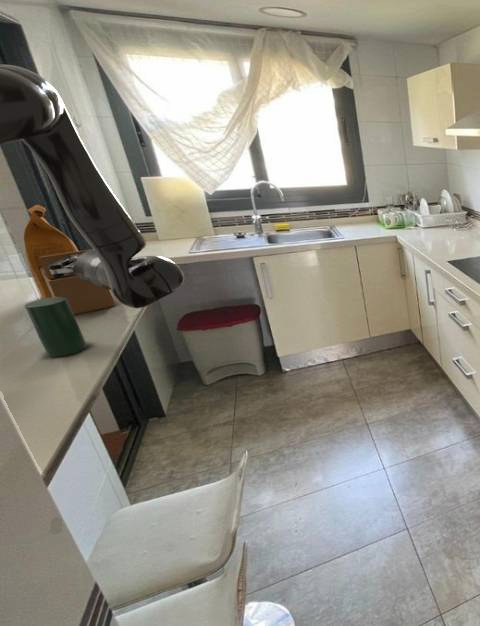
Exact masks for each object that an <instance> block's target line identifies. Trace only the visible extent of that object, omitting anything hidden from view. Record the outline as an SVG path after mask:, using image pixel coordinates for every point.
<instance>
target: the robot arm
mask: <svg viewBox="0 0 480 626" xmlns="http://www.w3.org/2000/svg"><path fill="white" fill-rule="evenodd" d="M18 141H22V142H23V143H24V144H25V145H26V146H27V147H28V148H29V149H30V151H31V152H32V153H33V155H34V156H35V158H36V159H37V160H38V161H39V163H40V164H41V166H42V168H43V169H44V170H45V172H46V174H47V175H48V178H49V180H50V181H51V183H52V186H53V189H54V191H55V193H56V195H57V197H58V199H59V201H60V203H61V205H62V207H63V209H64V211H65V213H66V215H67V217H68V218H69V220H70V221H71V222H72V224H73V225H74V227H75V228H76V229H77V231H78V232H79V233H80V234H81V236H82V237H83V239H85V241H86V242H87V243H88V245H89V246H90V248H92V249H93V250H90V249H88V250H89V251H87V252H85V253H83V254H81V255H80V254H73V255H68V258H66V259H63V260H60V261H58V262H56V263H54V264H51V265H49V269H50V271H51V274H52V276H53V278H59V277H62V276H63V275H67V273H69V274H70V275H73V276H78V277H80V278H81V279H82V280H84V281H85V282H87V283H90V284H93V285H95V286H98V287H101V288H104V289H108V290H109V291H110V292H111V294H112V295H113V296H114V298H115V299H116V300H117V301H118V302H119V303H121V304H122V305H124V306H125V307H128V308H132V309H142V308H145V307H148V306H150V305H151V304H153V303H155V302H157V301H159V300H161V299H163V298H165V297H167V296H169V295H171V294H173V293H175V292H177V291H178V290H179V289H181V288H182V286H183V285H184V284H185V283H184V282H185V275H184V272H183V270H182V268H181V267H180V266H179V265H178V264H177V263H175V262H174V261H172V260H171V259H169V258H166V257H163V256H159V255H143V256H137V255H138V254H139V253H141V252H142V251H143V250H144V249H145V247H146V246H147V240H146V239H145V236H144V235H143V234H142V232H141V231H140V229H139V227H138V226H137V225H136V223H135V222H134V220H133V219H132V218H131V216H130V215H129V214H128V212H127V211H126V210H125V208H124V207H123V205H122V204H121V203H120V201H119V199H118V198H117V197H116V195H115V194H114V193H113V191H112V189H111V188H110V186H109V185H108V184H107V182H106V181H105V179H104V177H103V175H101V173H100V171H99V169H98V168H97V166H96V164H95V162H94V161H93V159H92V157H91V156H90V154H89V152H88V150H87V149H86V147H85V145H84V142H83V141H82V139H81V138H80V136H79V133H78V131H77V129H76V127H75V125H74V123H73V120H72V119H71V116H70V114H69V112H68V110H67V107H66V106H65V104H64V102H63V99H62V98H61V96H60V94H59V93H58V91H57V90H56V89H55V87H54V86H53V85H52V84H51V83H50V82H49V81H48V80H46V79H45V78H44V77H42V76H41V75H40V74H37V73H36V72H34V71H32V70H29V69H27V68H24V67H23V66H17V65H14V64H13V65H12V64H0V146H1V145H6V144H10V143H14V142H18ZM135 256H136V257H135Z"/></svg>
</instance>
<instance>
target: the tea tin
mask: <svg viewBox="0 0 480 626" xmlns="http://www.w3.org/2000/svg"><path fill="white" fill-rule="evenodd" d="M24 308H25V310H26V313H27V315H28V317H29V319H30V321H31V323H32V325H33V327H34V330H35V332H36V333H37V336H38V338H39V340H40V342H41V344H42V346H43V349H44V351H45V353H46V355H47V356H48V357H49V358H60V357H66V356H69V355H74V354H76V353H79V352H82V351H84V350H86V349H87V348H88V345H87V342H86V339H85V337H84V335H83V332H82V330H81V328H80V326H79V323H78V321H77V319H76V316H75V314H73V312H72V309H71V307H70V305H69V302H68V300H67V298H66V297H52V298H45V299H44V298H42V299H36V300H33V301H30V302H27V303H25V304H24Z"/></svg>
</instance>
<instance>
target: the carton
mask: <svg viewBox="0 0 480 626" xmlns="http://www.w3.org/2000/svg"><path fill="white" fill-rule="evenodd" d="M40 270H41V271H42V272H41V273H42V275H43V277H44V280H45V282H46V284H47V286H48V289H49V291H50V293H51V295H52V297H66V298H67V300H68V302H69V305H70V307H71V309H72V312H73V314H74V315H78V314H83V313H87V312H92V311H93V312H94V311H96V310H97V311H98V310H101V309H105V308H106V309H107V308H110V307H115V306H116V303H115V301H114V298H113V296H112V292H111V290H108V289H104V288H101V287H98V286H95V285H93V284H90V283H87V282H85V281H84V280H82V279H81V278H80V277H78V276H73V275H68V276H62V277H59V278H50V279H48V278H47V276H46V274H45V271H44V269H43V268H42V269H40Z"/></svg>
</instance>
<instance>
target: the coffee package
mask: <svg viewBox="0 0 480 626" xmlns="http://www.w3.org/2000/svg"><path fill="white" fill-rule="evenodd" d="M26 211H27V212H28V213H29V214H31V215H30V218H29V220H28V222H27V224H26V226H25V228H24V231H23V242H24V249H25V255H26V256H25V257H26V259H27V260H26V261H27V263H28V266H29V269H30V272H31V275H32V277H33V280H34V282H35V285H36V287H37V289H38V291H39V293H40V295H41V297H42V299H45V298H52V295H51V293H50V291H49V289H48V286H47V284H46V282H45V280H44V277H43V275H42V273H41V272H42V271H41V270H40V269H42V268H43V266H42V264H41V261H40V259H39V257H42V256H49V255H55V254H62V253H69V252H76V251H79V249H78V247H77V246H76V244H75V243H74V242H73V240H71V238H70V237H69V236H67V235H66V234H65V233H64V232H62V231H61V230H59V229H58V228H56V227H54V226H53V225H51V224H50V223H49V222H48V221H47V219H45V218H44V217H45V216H46V215H45V212H47V209H46V207H44V206H41V205H40V204H35V205H34V206H32V207H30V208H29V209H28V208H27V209H26Z"/></svg>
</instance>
